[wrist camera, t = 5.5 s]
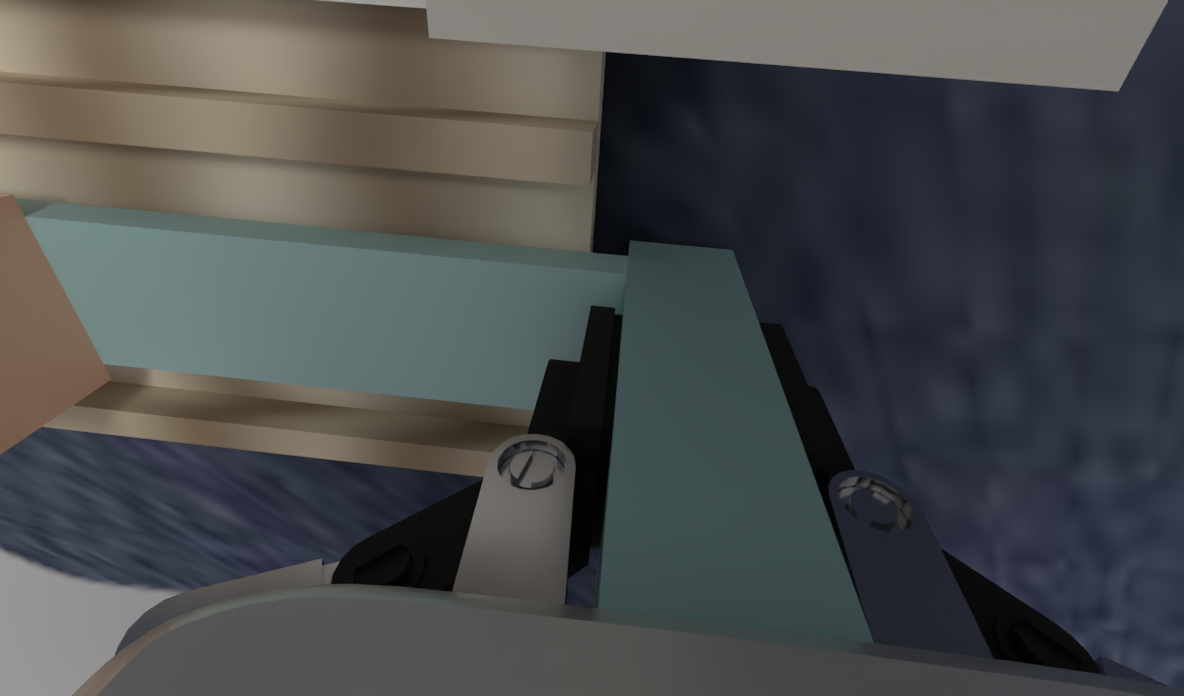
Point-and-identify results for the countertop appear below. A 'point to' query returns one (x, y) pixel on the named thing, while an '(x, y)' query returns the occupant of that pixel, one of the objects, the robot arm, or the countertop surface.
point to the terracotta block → (37, 336)
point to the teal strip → (502, 376)
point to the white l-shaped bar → (831, 33)
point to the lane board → (298, 176)
